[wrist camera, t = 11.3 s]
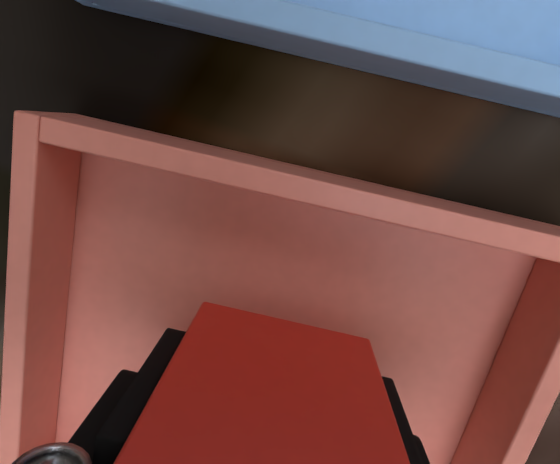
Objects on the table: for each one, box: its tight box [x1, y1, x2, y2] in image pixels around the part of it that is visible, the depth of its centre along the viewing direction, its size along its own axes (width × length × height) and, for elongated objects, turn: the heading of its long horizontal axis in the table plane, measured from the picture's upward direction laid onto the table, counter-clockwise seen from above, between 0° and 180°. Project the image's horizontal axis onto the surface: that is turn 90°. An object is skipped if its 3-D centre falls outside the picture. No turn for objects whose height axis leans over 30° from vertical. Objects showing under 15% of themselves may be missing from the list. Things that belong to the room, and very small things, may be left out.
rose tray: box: [0, 110, 560, 464], centre depth 12 cm, size 14×12×2 cm
